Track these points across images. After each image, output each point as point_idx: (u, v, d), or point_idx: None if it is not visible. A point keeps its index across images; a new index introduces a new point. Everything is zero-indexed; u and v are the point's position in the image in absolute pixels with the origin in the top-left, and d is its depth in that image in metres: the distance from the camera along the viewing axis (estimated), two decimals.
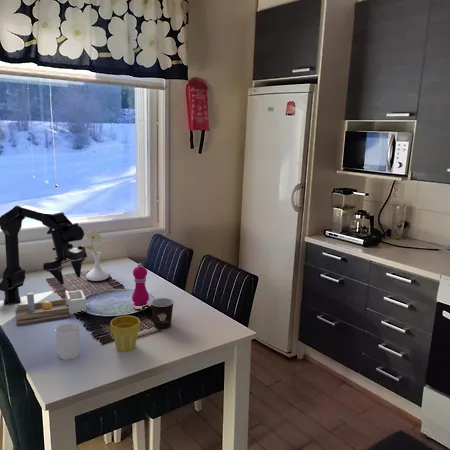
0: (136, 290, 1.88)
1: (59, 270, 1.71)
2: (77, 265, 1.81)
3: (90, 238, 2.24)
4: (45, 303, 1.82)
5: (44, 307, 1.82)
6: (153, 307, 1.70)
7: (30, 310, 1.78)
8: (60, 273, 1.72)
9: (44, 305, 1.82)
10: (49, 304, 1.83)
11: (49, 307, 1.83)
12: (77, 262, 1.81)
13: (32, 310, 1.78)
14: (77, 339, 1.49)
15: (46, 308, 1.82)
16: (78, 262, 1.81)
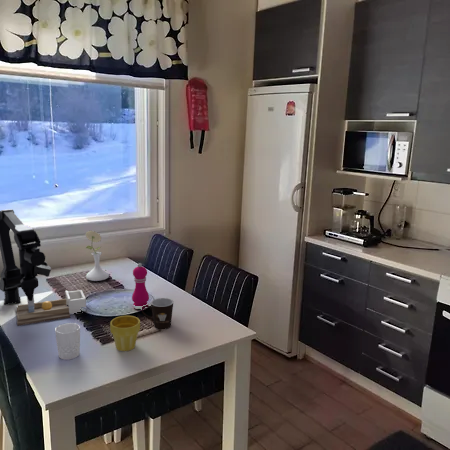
0: (136, 290, 1.88)
1: None
2: None
3: (90, 238, 2.24)
4: (45, 303, 1.82)
5: (44, 307, 1.82)
6: (153, 307, 1.70)
7: (30, 310, 1.78)
8: (33, 290, 1.75)
9: (44, 305, 1.82)
10: (49, 304, 1.83)
11: (49, 307, 1.83)
12: None
13: (32, 310, 1.78)
14: (77, 339, 1.49)
15: (46, 308, 1.82)
16: None
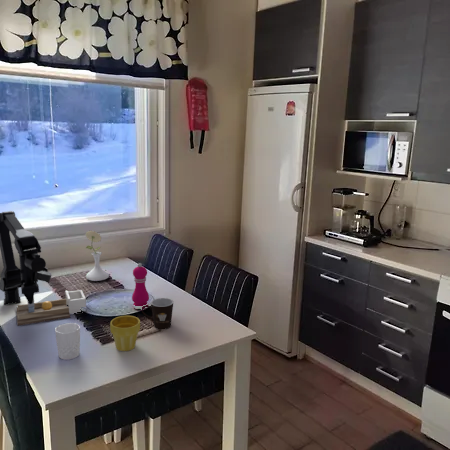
0: (136, 290, 1.88)
1: None
2: None
3: (90, 238, 2.24)
4: (45, 303, 1.82)
5: (44, 307, 1.82)
6: (153, 307, 1.70)
7: (30, 310, 1.78)
8: (33, 293, 1.78)
9: (44, 305, 1.82)
10: (49, 304, 1.83)
11: (49, 307, 1.83)
12: None
13: (32, 310, 1.78)
14: (77, 339, 1.49)
15: (46, 308, 1.82)
16: None
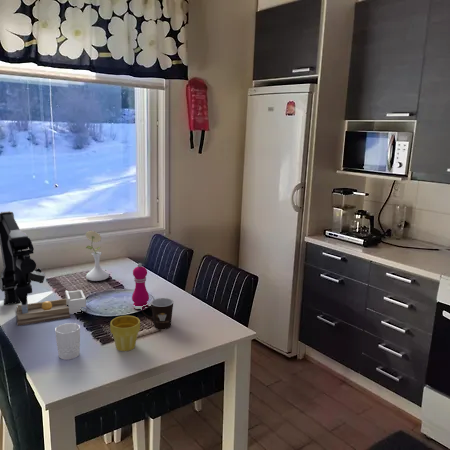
0: (136, 290, 1.88)
1: None
2: None
3: (90, 238, 2.24)
4: (45, 303, 1.82)
5: (44, 307, 1.82)
6: (153, 307, 1.70)
7: (23, 311, 1.77)
8: (27, 294, 1.77)
9: (44, 305, 1.82)
10: (49, 304, 1.83)
11: (49, 307, 1.83)
12: None
13: (25, 311, 1.77)
14: (77, 339, 1.49)
15: (46, 308, 1.82)
16: None
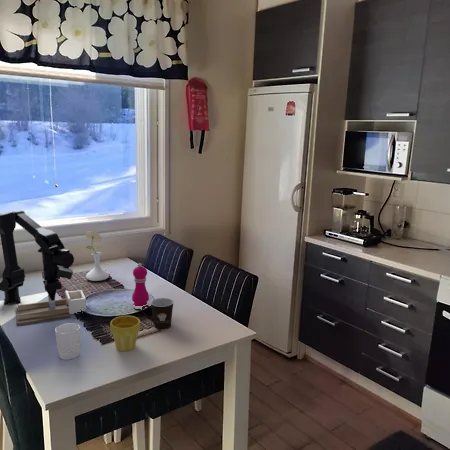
0: (136, 290, 1.88)
1: None
2: None
3: (90, 238, 2.24)
4: None
5: None
6: (153, 307, 1.70)
7: (51, 307, 1.81)
8: (55, 290, 1.82)
9: None
10: None
11: None
12: None
13: (53, 307, 1.82)
14: (77, 339, 1.49)
15: None
16: None
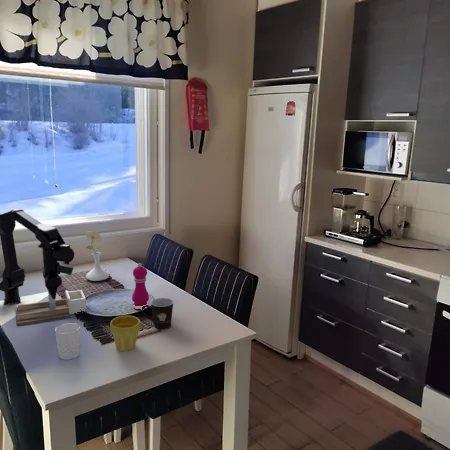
0: (136, 290, 1.88)
1: None
2: None
3: (90, 238, 2.24)
4: (68, 306, 1.87)
5: None
6: (153, 307, 1.70)
7: (52, 307, 1.81)
8: None
9: None
10: None
11: None
12: None
13: (53, 307, 1.82)
14: (77, 339, 1.49)
15: None
16: None
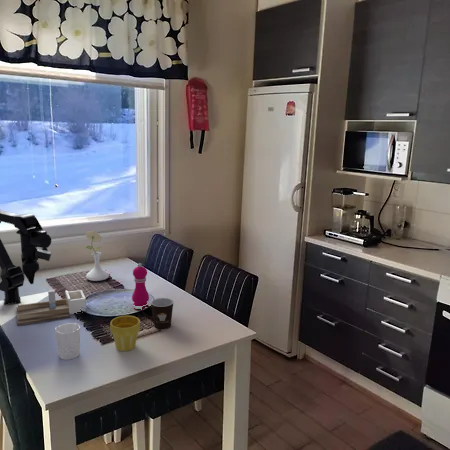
0: (136, 290, 1.88)
1: None
2: None
3: (90, 238, 2.24)
4: (68, 306, 1.87)
5: None
6: (153, 307, 1.70)
7: (52, 307, 1.81)
8: (34, 273, 1.82)
9: None
10: None
11: None
12: None
13: (53, 307, 1.82)
14: (77, 339, 1.49)
15: None
16: None
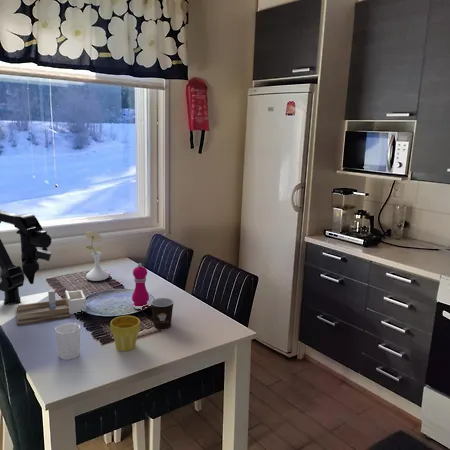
0: (136, 290, 1.88)
1: None
2: None
3: (90, 238, 2.24)
4: (68, 306, 1.87)
5: None
6: (153, 307, 1.70)
7: (52, 307, 1.81)
8: (34, 273, 1.82)
9: None
10: None
11: None
12: None
13: (53, 307, 1.82)
14: (77, 339, 1.49)
15: None
16: None
